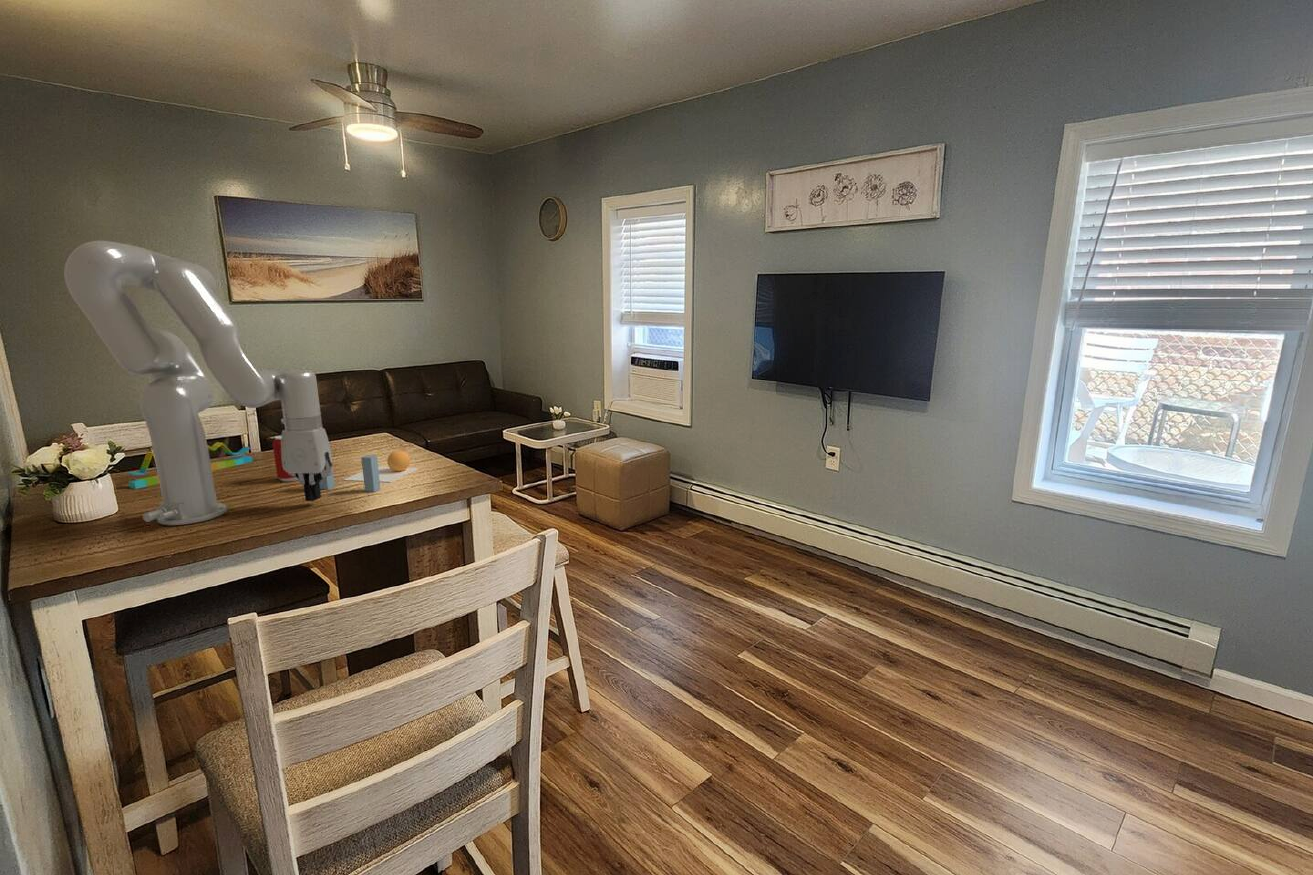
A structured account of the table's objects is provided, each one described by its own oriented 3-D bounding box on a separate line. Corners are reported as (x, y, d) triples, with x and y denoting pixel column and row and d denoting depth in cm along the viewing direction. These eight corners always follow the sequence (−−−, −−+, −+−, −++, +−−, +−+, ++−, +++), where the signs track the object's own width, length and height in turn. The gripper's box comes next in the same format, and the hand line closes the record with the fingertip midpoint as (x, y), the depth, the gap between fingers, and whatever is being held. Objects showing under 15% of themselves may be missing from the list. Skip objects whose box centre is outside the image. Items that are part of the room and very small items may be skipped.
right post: (374, 491, 155) (370, 457, 153) (365, 491, 155) (361, 457, 153) (380, 488, 157) (376, 455, 155) (371, 488, 158) (367, 454, 156)
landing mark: (390, 482, 163) (390, 481, 163) (343, 480, 165) (343, 479, 165) (418, 468, 177) (418, 468, 176) (374, 466, 179) (374, 466, 179)
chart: (245, 461, 187) (238, 413, 184) (252, 462, 186) (245, 414, 183) (129, 488, 160) (117, 432, 157) (136, 489, 159) (124, 433, 156)
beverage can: (295, 482, 164) (289, 439, 161) (272, 482, 164) (266, 439, 161) (309, 476, 170) (303, 434, 167) (287, 475, 170) (281, 434, 167)
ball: (416, 468, 176) (402, 473, 170) (398, 469, 178) (384, 473, 172) (412, 448, 175) (399, 452, 169) (395, 449, 177) (381, 453, 171)
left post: (328, 489, 157) (323, 455, 155) (319, 489, 157) (314, 455, 156) (334, 486, 160) (330, 453, 158) (326, 486, 160) (321, 453, 158)
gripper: (262, 426, 138) (273, 502, 142) (321, 427, 136) (331, 506, 140) (286, 419, 145) (297, 493, 149) (343, 421, 143) (352, 496, 147)
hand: (313, 499), depth 145 cm, fingers closed
